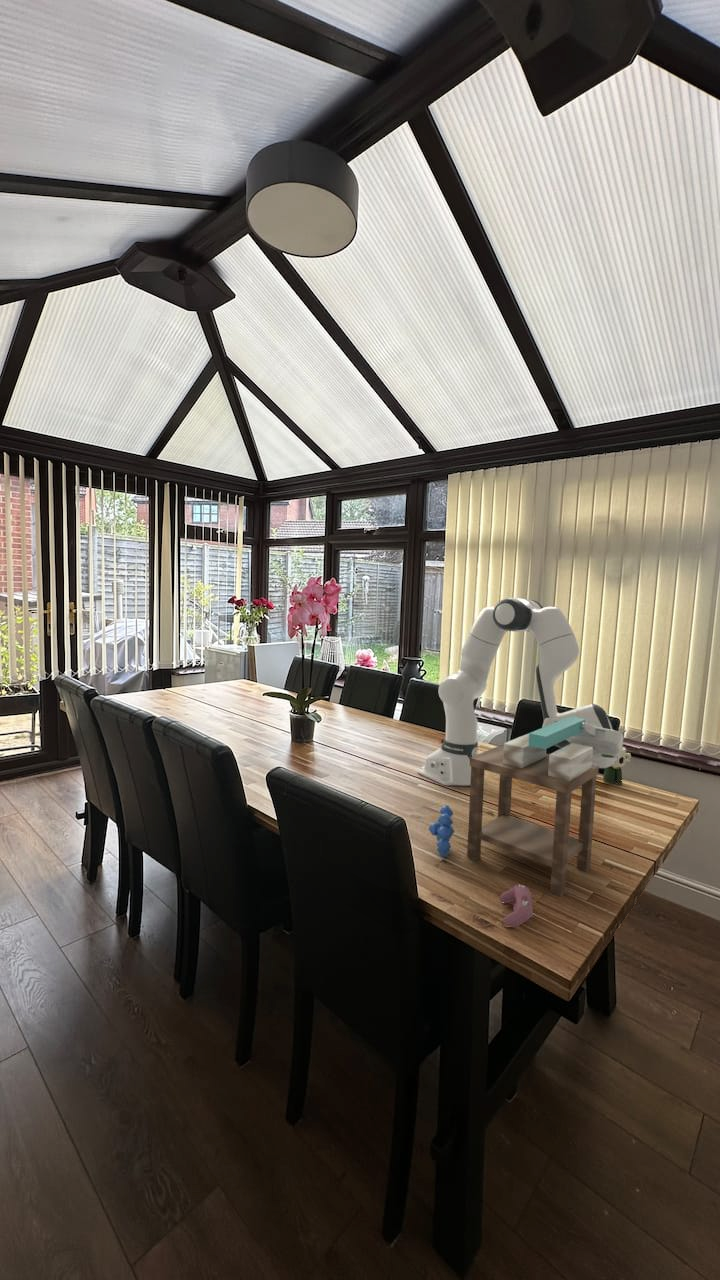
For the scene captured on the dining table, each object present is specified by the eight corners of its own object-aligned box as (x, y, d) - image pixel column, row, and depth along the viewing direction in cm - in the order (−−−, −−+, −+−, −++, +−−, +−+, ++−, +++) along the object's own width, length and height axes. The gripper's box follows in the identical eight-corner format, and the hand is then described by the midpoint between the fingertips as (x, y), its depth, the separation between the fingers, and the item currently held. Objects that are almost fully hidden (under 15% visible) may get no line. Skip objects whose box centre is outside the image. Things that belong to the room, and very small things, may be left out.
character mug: (599, 784, 187) (602, 749, 186) (593, 777, 194) (596, 743, 193) (632, 787, 186) (634, 751, 184) (625, 780, 193) (627, 745, 191)
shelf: (465, 856, 135) (470, 738, 132) (500, 833, 148) (506, 725, 145) (561, 897, 118) (570, 762, 115) (591, 867, 131) (600, 746, 128)
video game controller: (521, 938, 106) (539, 911, 105) (501, 926, 107) (518, 899, 105) (516, 909, 116) (533, 884, 115) (497, 898, 116) (514, 872, 115)
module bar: (528, 745, 124) (529, 733, 124) (569, 727, 141) (570, 716, 141) (544, 749, 121) (545, 736, 121) (584, 730, 138) (585, 719, 138)
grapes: (430, 839, 144) (431, 797, 142) (455, 843, 142) (457, 800, 141) (424, 860, 132) (426, 814, 131) (452, 864, 131) (453, 818, 130)
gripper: (555, 722, 155) (538, 705, 145) (630, 737, 141) (616, 719, 131) (549, 743, 153) (531, 727, 144) (624, 759, 139) (610, 743, 130)
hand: (572, 723), depth 137 cm, fingers closed on module bar, 4 cm apart
